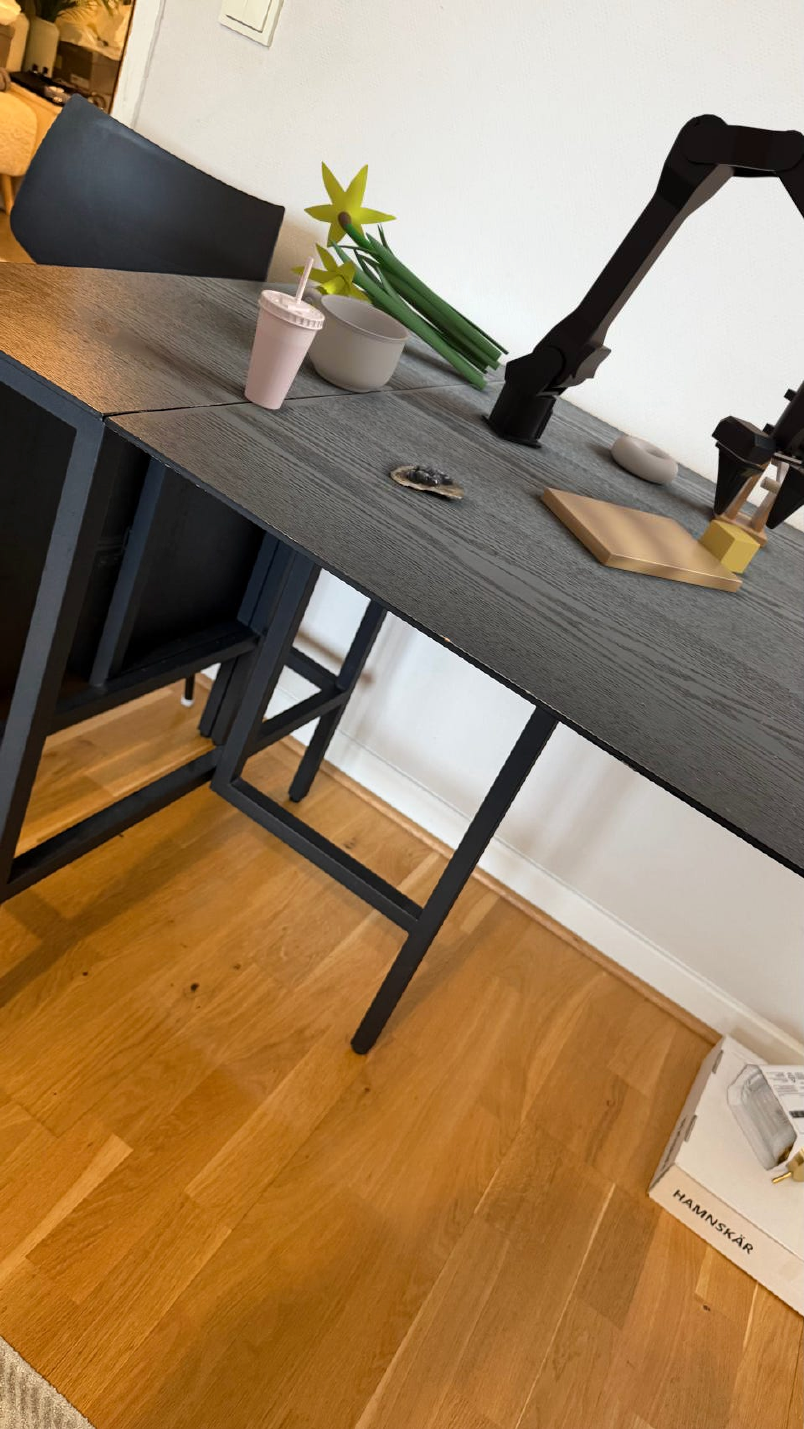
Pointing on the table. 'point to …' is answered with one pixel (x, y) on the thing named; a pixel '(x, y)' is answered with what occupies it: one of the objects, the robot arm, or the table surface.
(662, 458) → the donut
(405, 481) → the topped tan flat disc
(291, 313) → the smoothie
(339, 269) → the daffodil flowers
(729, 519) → the wooden dowel stand
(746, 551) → the yellow cube
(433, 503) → the table surface
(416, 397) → the table surface
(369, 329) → the teacup
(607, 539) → the cutting board
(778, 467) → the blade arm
